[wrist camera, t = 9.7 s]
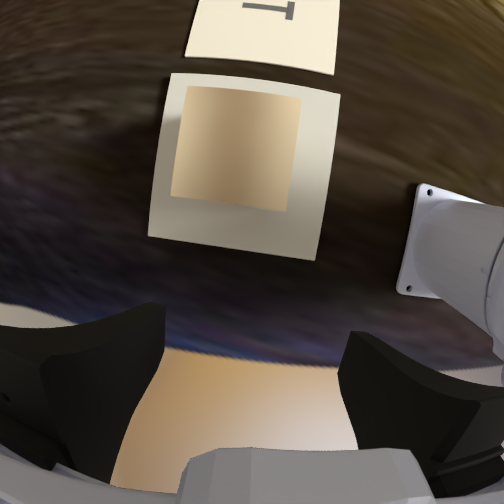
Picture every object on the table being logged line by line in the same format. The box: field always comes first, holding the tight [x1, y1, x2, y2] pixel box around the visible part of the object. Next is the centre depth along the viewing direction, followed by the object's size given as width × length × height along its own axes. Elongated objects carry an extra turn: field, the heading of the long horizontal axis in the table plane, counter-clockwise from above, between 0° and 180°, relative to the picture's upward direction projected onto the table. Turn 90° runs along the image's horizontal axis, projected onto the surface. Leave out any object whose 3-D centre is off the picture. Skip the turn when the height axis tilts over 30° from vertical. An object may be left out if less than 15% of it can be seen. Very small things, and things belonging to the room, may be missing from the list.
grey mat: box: [148, 73, 340, 261], centre depth 18 cm, size 11×11×1 cm
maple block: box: [170, 86, 302, 212], centre depth 15 cm, size 5×5×6 cm
